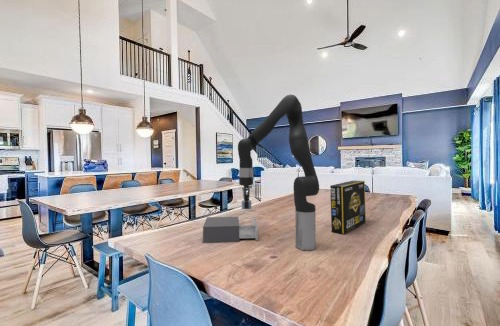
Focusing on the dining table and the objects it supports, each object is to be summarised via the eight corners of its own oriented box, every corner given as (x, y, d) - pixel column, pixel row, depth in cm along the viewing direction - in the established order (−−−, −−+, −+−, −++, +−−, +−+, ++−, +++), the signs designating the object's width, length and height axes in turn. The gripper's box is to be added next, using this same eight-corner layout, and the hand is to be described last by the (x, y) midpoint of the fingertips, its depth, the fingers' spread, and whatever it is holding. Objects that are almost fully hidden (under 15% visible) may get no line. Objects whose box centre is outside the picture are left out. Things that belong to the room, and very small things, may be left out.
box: (344, 235, 138) (344, 185, 137) (329, 232, 144) (329, 184, 143) (366, 223, 163) (366, 181, 162) (353, 220, 168) (353, 180, 167)
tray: (254, 229, 150) (254, 216, 149) (258, 240, 130) (258, 225, 129) (224, 230, 148) (223, 217, 148) (222, 241, 128) (222, 226, 128)
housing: (238, 230, 149) (238, 216, 149) (239, 241, 129) (239, 225, 129) (207, 231, 148) (207, 217, 148) (203, 242, 128) (203, 226, 128)
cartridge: (251, 209, 137) (251, 201, 137) (241, 209, 137) (241, 201, 137) (250, 207, 141) (250, 200, 141) (241, 207, 141) (241, 200, 141)
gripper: (254, 177, 132) (254, 210, 132) (252, 175, 146) (252, 205, 146) (239, 177, 131) (239, 210, 132) (238, 175, 145) (239, 205, 146)
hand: (246, 207), depth 139 cm, fingers closed on cartridge, 4 cm apart
